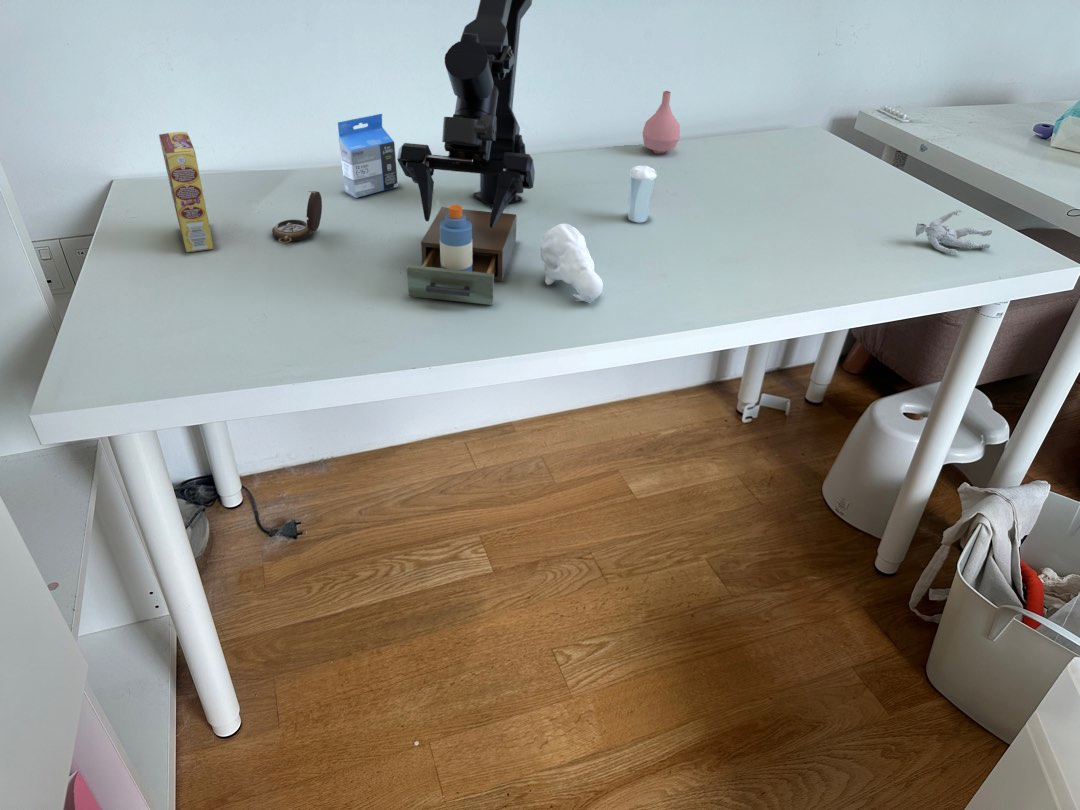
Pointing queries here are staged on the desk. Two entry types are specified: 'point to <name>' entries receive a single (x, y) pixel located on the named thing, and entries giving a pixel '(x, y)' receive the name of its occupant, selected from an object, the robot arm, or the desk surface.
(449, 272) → the drawer
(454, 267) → the glue bottle
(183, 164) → the candy box
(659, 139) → the pink vase
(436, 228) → the drawer unit
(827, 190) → the desk surface
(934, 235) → the soldier figure
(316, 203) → the compass
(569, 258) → the white animal figurine
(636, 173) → the milkshake
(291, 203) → the desk surface
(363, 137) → the label tape box
